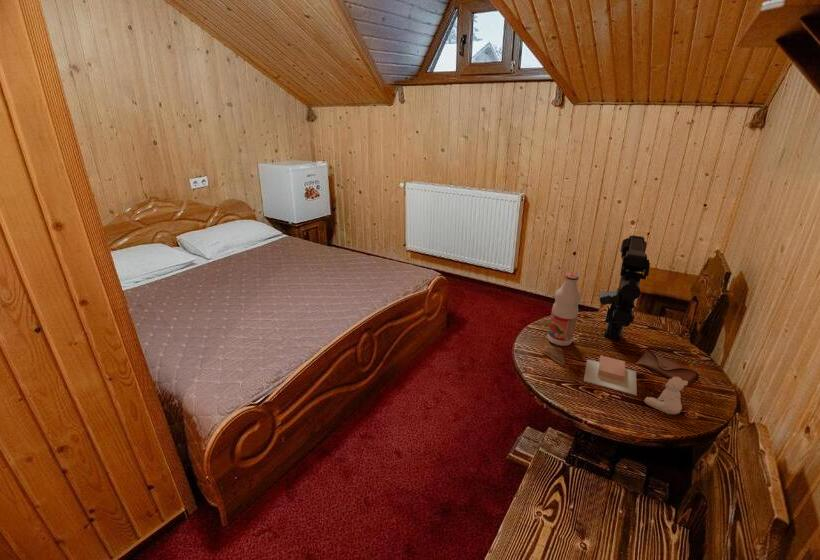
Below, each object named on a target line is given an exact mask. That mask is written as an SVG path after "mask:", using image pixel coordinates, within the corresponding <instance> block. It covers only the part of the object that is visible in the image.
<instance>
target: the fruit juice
mask: <svg viewBox="0 0 820 560" xmlns="http://www.w3.org/2000/svg"><path fill="white" fill-rule="evenodd" d="M579 277H580V276H579V275H578V274H577V273H573V272H566V273H565V274H564V281H563V283H562V284H561V286H560V287H559V288H558V289H557V290H556V291H555V295H554V300H555V301H554V302H553V305H552V308H551V313H550V314H551V315H550V318H549V319H550V320H549V324H548V325H549V326H548V330H547V331H548V332H547V340H548V341H549V343H550V342H551V344H554V345H555V346H560V347H561V346H565V347H566V346H569V345H571V344H572V342H573V339H574V335H575V334H574V333H575V330H576V325H577V321H578V316H579V307H578V306H579V303H580V302H581V297H582V296H581V294H580V291H579V290H578V283H577V282H578V281H579V279H580V278H579Z"/></svg>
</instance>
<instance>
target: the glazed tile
mask: <svg viewBox="0 0 820 560" xmlns="http://www.w3.org/2000/svg"><path fill="white" fill-rule="evenodd" d="M598 362H599V366H598V375H597V376H599V377H603V378H607V379H611V380H614V381H618V382H622V383H623V382H624V378H625V369H626V361H625V360H620V359H618V358H613V357H609V356H604V355H602V354H601V355H600V356H599V360H598Z"/></svg>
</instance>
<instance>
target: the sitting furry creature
mask: <svg viewBox="0 0 820 560" xmlns="http://www.w3.org/2000/svg"><path fill="white" fill-rule="evenodd" d="M687 384H688V381H683V380H682V379H681V378H679V377H673V378H672V379H671V378H670V379H668V381H667V382H666V383H665V389H663V391H661V392H662V393H660V394H659V396H658V397H657V398H656V397H652V396H646V397H645V398H644V403H645V404H646V405H647V406H649V407H652V408H654V409H656V410H658V411H660V412H663V413H665V414H667V415H678V414H681V412H682V409H683V405H682V401H681V399H682V397H681V396H682V395H681V391H683V389H684V388H685V387H684V386H685V385H687Z"/></svg>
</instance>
